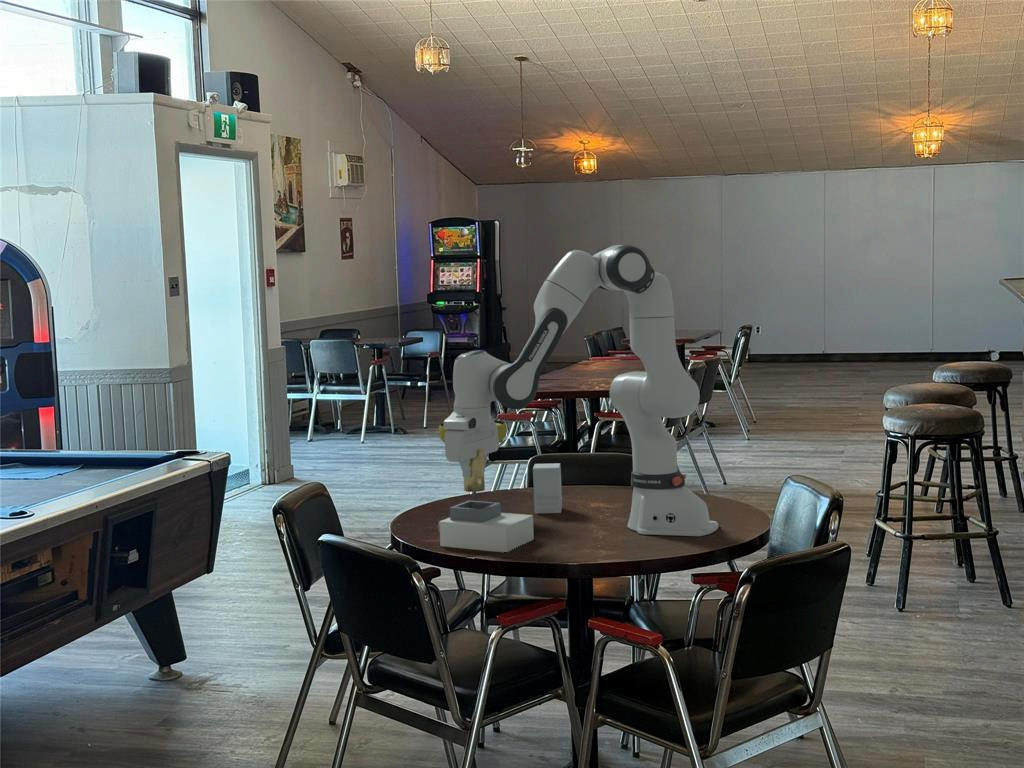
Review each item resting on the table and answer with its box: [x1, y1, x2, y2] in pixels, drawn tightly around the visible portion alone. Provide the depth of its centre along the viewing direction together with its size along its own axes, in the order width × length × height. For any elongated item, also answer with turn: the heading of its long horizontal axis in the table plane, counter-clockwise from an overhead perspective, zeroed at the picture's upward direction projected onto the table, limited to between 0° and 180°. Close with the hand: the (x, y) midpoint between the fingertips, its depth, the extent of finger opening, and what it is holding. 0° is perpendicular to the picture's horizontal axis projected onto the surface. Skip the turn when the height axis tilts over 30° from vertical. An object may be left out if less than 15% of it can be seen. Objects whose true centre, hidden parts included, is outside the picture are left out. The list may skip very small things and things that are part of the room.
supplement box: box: [532, 462, 563, 515], centre depth 303 cm, size 7×7×13 cm
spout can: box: [463, 449, 486, 493], centre depth 268 cm, size 5×5×13 cm
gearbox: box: [437, 499, 535, 553], centre depth 269 cm, size 22×14×9 cm, turn 62°
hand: (474, 475), depth 269 cm, fingers closed on spout can, 5 cm apart
